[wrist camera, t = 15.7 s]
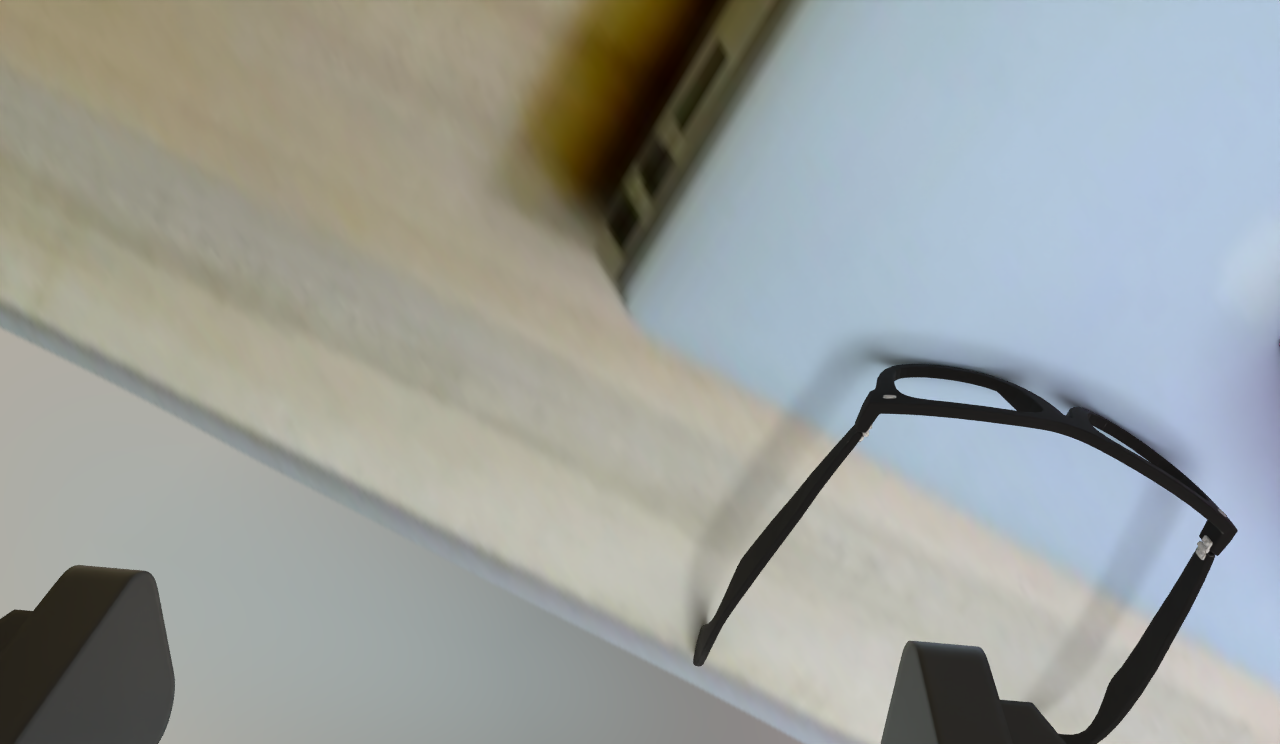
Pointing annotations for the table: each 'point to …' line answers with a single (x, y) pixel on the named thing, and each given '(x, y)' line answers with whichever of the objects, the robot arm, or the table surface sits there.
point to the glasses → (1028, 414)
